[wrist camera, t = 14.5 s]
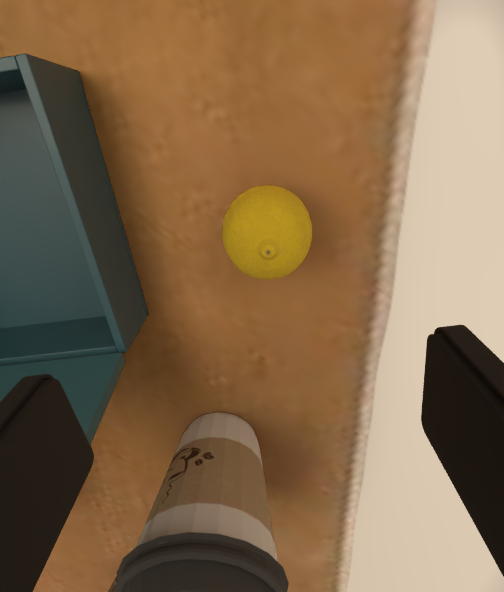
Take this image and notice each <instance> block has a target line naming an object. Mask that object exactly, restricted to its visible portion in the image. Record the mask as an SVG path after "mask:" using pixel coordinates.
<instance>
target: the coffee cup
mask: <svg viewBox="0 0 504 592" xmlns="http://www.w3.org/2000/svg"><path fill="white" fill-rule="evenodd" d="M117 578H118V581H117V584H116V586H115V588H114V592H287V589H288V584H289V583H288V580H287V577H286V575H285V572H284V569H283V567H282V566H281V565H280V564H279V563H278V561H277V555H276V548H275V542H274V536H273V529H272V523H271V517H270V510H269V504H268V498H267V492H266V485H265V479H264V473H263V466H262V460H261V454H260V448H259V444H258V441H257V437H256V436H255V433H254V430H253V429H252V427H251V426H250V425H249V424H248V422H246V421H245V420H243V419H241V418H240V417H238V416H235V415H232V414H229V413H218V412H215V413H210V414H204V415H202V416H200V417H198V418H196V419H195V420H194V421H193V422H192V423H191V424H190V425H189V426H188V428H187V430H186V431H185V432H184V433H183V435H182V438H181V440H180V442H179V445H178V447H177V450H176V452H175V454H174V457H173V459H172V462H171V464H170V466H169V469H168V471H167V474H166V476H165V478H164V481H163V483H162V486H161V488H160V490H159V493H158V495H157V498H156V500H155V502H154V505H153V507H152V510H151V512H150V514H149V517H148V519H147V522H146V524H145V526H144V529H143V531H142V534H141V536H140V539H139V541H138V543H137V546H136V548H135V549H134V550H132V551H131V552H130V553H129V554H128V555H127V556H125V557H124V558H123V560H122V562H121V565H120V567H119V570H118V572H117Z"/></svg>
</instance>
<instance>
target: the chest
mask: <svg viewBox="0 0 504 592" xmlns="http://www.w3.org/2000/svg"><path fill="white" fill-rule="evenodd" d="M148 315H149V313H148V310H147V306H146V303H145V299H144V296H143V292H142V289H141V285H140V282H139V279H138V275H137V272H136V268H135V265H134V261H133V258H132V254H131V251H130V248H129V244H128V241H127V237H126V234H125V230H124V227H123V223H122V220H121V216H120V213H119V210H118V206H117V203H116V199H115V196H114V192H113V189H112V185H111V182H110V179H109V175H108V172H107V168H106V165H105V161H104V158H103V154H102V151H101V148H100V144H99V141H98V137H97V134H96V130H95V127H94V123H93V120H92V116H91V113H90V110H89V106H88V103H87V99H86V96H85V92H84V89H83V85H82V82H81V79H80V75H79V72H78V71H77V70H74V69H71V68H68V67H65V66H62V65H59V64H56V63H53V62H50V61H47V60H44V59H41V58H37V57H34V56H31V55H28V54H20V55H16V56H8V57H3V58H0V366H5V365H15V364H24V363H33V362H42V361H51V360H60V359H69V358H78V357H87V356H96V355H105V354H114V353H125V352H127V350H128V349H129V347H130V345H131V343H132V342H133V340H134V338H135V337H136V335H137V333H138V332H139V330H140V328H141V327H142V325H143V323H144V321H145V320H146V318H147V316H148Z"/></svg>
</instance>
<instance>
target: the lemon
mask: <svg viewBox="0 0 504 592" xmlns="http://www.w3.org/2000/svg"><path fill="white" fill-rule="evenodd" d="M222 238H223V243H224V246H225V250H226V252H227V254H228V256H229V258H230V259H231V261H232V262H233V263H234V264H235V266H236V267H237V268H238V269H239V270H241V271H242V272H244V273H245V274H247V275H248V276H251V277H254V278H257V279H266V280H270V279H277V278H280V277H283V276H286V275H288V274H289V273H291V272H292V271H294V270H295V269H296V268H297V267H298V266H299V265H300V264H301V263H302V262H303V261H304V259H305V257H306V255H307V253H308V251H309V249H310V244H311V240H312V223H311V220H310V216H309V213H308V211H307V209H306V208H305V206H304V204H303V203H302V201H301V200H300V199H299V198H298V197H297V196H295V195H294V194H293V193H292V192H290V191H288V190H286V189H284V188H282V187H278V186H273V185H260V186H257V187H253V188H250V189H248V190H247V191H245V192H243V193H242V194H240V195H239V196H238V197H237V198H236V199H235V200H234V201H233V202H232V203H231V205H230V207H229V209H228V210H227V212H226V214H225V218H224V222H223V226H222Z"/></svg>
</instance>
